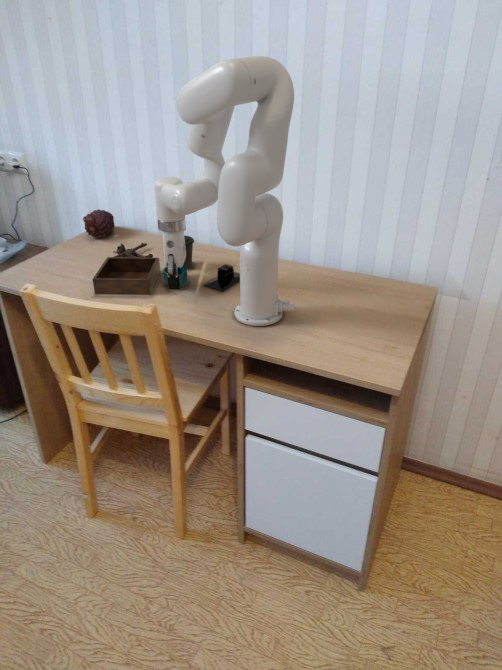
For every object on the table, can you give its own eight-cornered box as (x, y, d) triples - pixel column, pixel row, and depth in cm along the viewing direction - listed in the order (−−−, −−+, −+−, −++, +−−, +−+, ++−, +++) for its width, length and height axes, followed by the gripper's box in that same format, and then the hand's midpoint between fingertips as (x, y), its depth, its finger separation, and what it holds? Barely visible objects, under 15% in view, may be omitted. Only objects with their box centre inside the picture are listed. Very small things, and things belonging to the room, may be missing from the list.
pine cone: (94, 225, 198) (106, 202, 195) (116, 241, 198) (129, 218, 195) (70, 229, 181) (82, 204, 178) (93, 245, 181) (107, 221, 178)
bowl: (189, 280, 158) (188, 264, 155) (186, 290, 152) (185, 274, 149) (166, 280, 158) (165, 264, 155) (162, 290, 152) (161, 274, 150)
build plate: (222, 292, 151) (221, 277, 149) (202, 286, 155) (201, 271, 152) (247, 276, 160) (247, 262, 157) (228, 271, 163) (227, 257, 161)
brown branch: (128, 264, 160) (94, 249, 166) (128, 277, 163) (95, 262, 169) (168, 246, 173) (136, 232, 179) (168, 258, 175) (136, 244, 181)
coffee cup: (196, 272, 162) (195, 241, 157) (170, 274, 161) (167, 243, 156) (195, 262, 169) (193, 232, 164) (169, 264, 168) (166, 233, 163)
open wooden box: (160, 273, 162) (159, 257, 159) (150, 297, 148) (148, 279, 146) (109, 273, 162) (107, 256, 159) (95, 296, 149) (92, 279, 146)
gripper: (181, 235, 138) (185, 297, 147) (189, 214, 153) (192, 271, 162) (152, 235, 138) (158, 296, 147) (163, 213, 153) (168, 270, 162)
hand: (176, 282), depth 155 cm, fingers closed on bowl, 6 cm apart
